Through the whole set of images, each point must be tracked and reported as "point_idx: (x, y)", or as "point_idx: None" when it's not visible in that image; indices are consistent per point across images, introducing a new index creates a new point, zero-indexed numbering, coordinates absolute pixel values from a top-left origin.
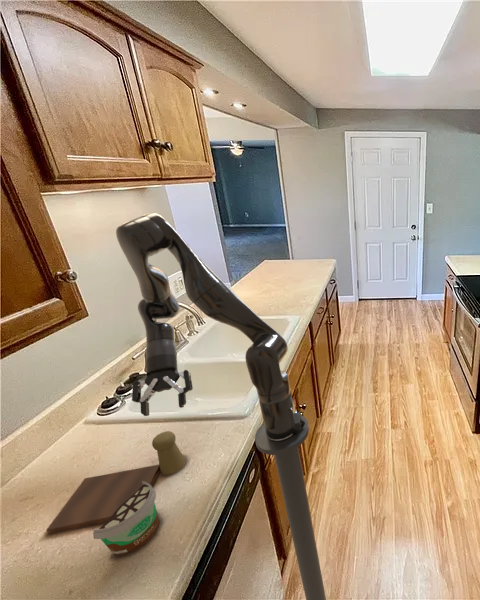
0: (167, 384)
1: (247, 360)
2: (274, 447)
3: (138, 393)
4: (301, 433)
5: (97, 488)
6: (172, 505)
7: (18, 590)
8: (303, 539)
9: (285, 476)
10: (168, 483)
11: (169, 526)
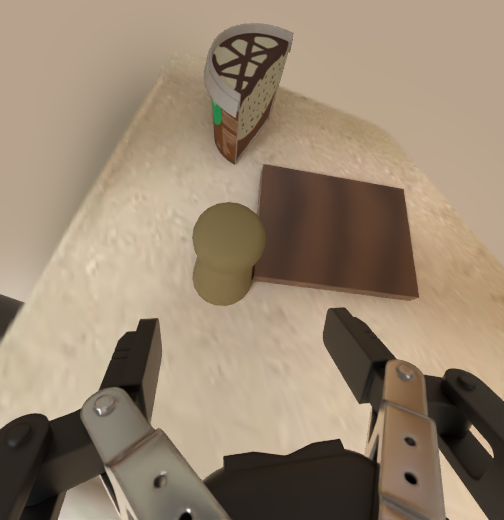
0: (232, 506)
1: None
2: None
3: (489, 480)
4: None
5: (370, 252)
6: (199, 166)
7: (373, 126)
8: None
9: (15, 299)
10: None
11: (195, 129)
